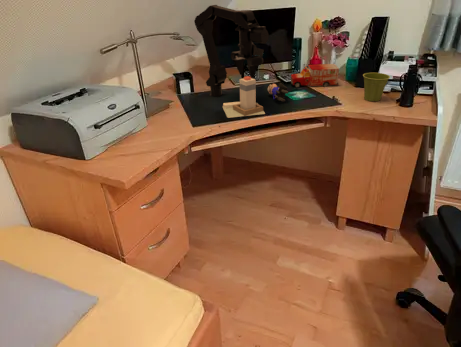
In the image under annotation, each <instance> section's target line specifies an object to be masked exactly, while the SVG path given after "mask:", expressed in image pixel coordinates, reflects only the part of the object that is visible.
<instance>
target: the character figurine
mask: <svg viewBox="0 0 461 347" xmlns="http://www.w3.org/2000/svg"><path fill="white" fill-rule="evenodd" d="M267 92H268V93H269V94H270V95H272V97H273V98H272V99H273V100H277V101H281V102H286V99H285V96H286V94H289V91H288V87H287V86H286V85H284V84H283V83H282V82H279V83H278V85H277V84H276V83H270V84H269V85H268V87H267Z"/></svg>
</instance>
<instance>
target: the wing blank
mask: <svg viewBox="0 0 461 347" xmlns="http://www.w3.org/2000/svg"><path fill="white" fill-rule="evenodd" d="M236 104H240V101H233V102H223V104H222V106H223V107H224V109H226V108H233V105H236ZM223 107H222V108H223ZM224 109H223V110H224Z"/></svg>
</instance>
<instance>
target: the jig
mask: <svg viewBox="0 0 461 347" xmlns="http://www.w3.org/2000/svg"><path fill="white" fill-rule="evenodd" d="M222 109H223V111H224V113H225V116H226V118H228V119H229V118H238V117H247V116H249V117H250V116H256V115H265V114H266V113H265V111H264V106H262V105H260V104H259V103H258V102H256V107H255V108H252V109H248V110H244V109H242V108H240V104H236V105H233V108H226V109H224V107H223V105H222Z"/></svg>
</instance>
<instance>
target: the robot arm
mask: <svg viewBox="0 0 461 347" xmlns="http://www.w3.org/2000/svg"><path fill="white" fill-rule="evenodd" d="M217 17H219V18H222V19H223V18H224V19H227V20H230V21H232V22H233V23H235V25H238V26H237V27H236V28H235V29H234V30H235V31H236V32H239V35H238V36H239V43H238V44H237V47H239V50H237V51H232V52H231V53H230V59H231V60H232V62H233V64H234V65H235V68H236V69H237V71H238V73H239V75H243V74H244V72H243V71H244V62H245V61H246V63H247V66H246V67H247V69H248V74H249V76H250V77H251V78H252V79H255V75H256V71H257V69H258V68H259V66H261V65H262V64H263V63H264V58H263V54H264V51H265V49H263V48H259V47H257V45H255V44H265V45H266V44H267V42H268V41H269V37H270V35H269V31H268V30H267V26H264V25H263V26H260V24H259V23H258V20H257V19H256V17H255V13H254V11H252V10H251V9H243V10H237V9H233V8H228V7H225V6H221V5H218V4H211V5H208V6H207V8H206V9H204V10H203V11H201V12H200V13H199V15H196V16H195V17H194V25H195V28H196V30H197V32H198V33H199V34H200V36H201V38H202V41H203V45H204V48H205V51H206V55H207V59H208V63H209V70H208V75H209V77H208V79H207V80H206V81H205V84H206V87H209V88H210V93H209V96H213V97H214V98H215V97H217V98H218V97H221V96H222V95H223V92H222V90H223V89H222V85H223V84H225V82H226V79H227V78H228V77H227V74H228V72H227V70H226V69H227V68H226V66H225V65H222V64H221V62H220V58H219V55H218V52H217V47H216V44H215V40H214V35H213V29H214V20H216V18H217Z"/></svg>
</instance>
